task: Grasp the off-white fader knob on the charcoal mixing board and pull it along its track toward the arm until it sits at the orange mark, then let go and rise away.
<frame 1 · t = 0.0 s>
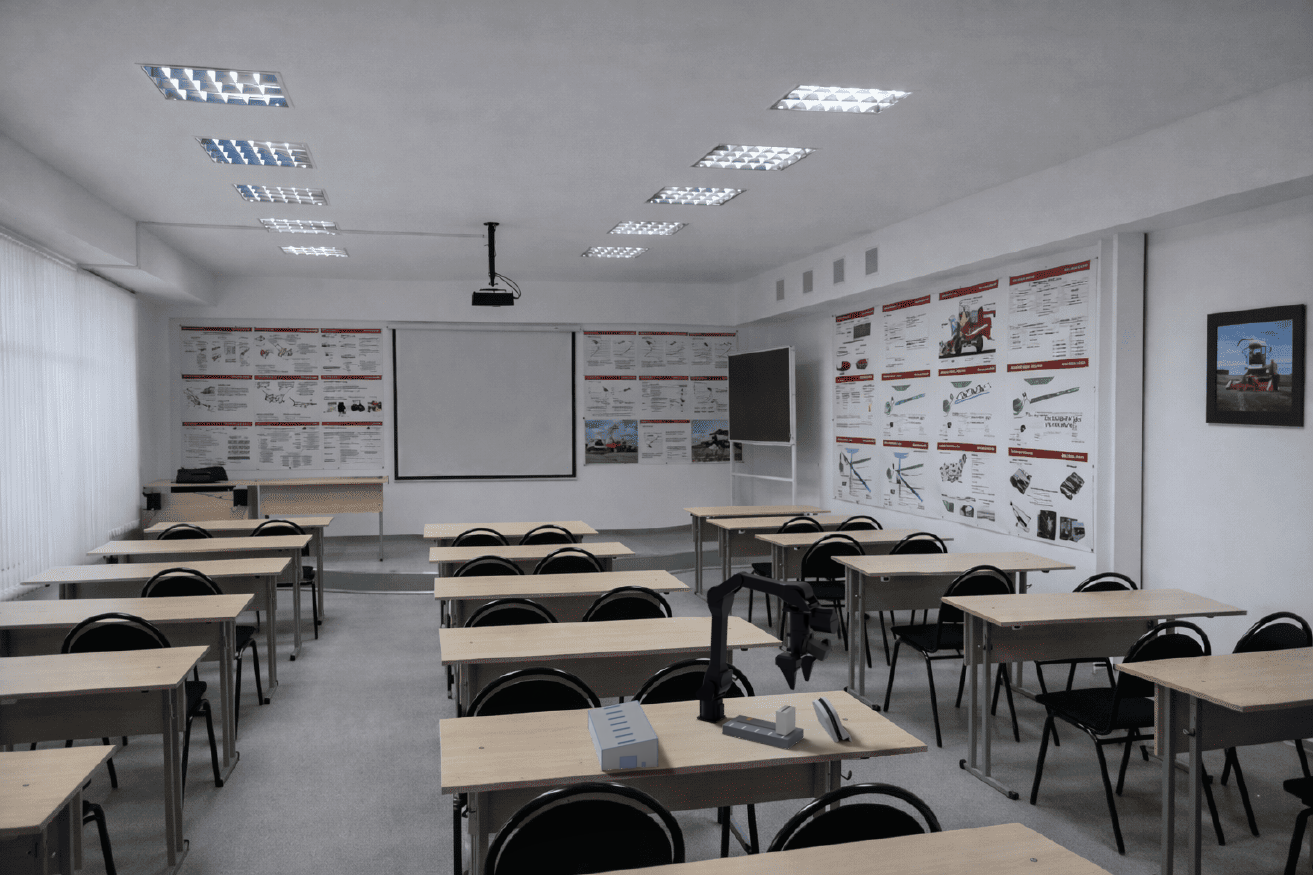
hand: (799, 685, 229), 15 cm above the table, tool pointing down, fingers open, 9 cm apart
fader knob: (785, 719, 227), point 6 cm above the table, slide at 0.0 cm
fader board: (762, 735, 231), on the table
warehouse: (620, 748, 224), on the table
grey curved piece: (830, 732, 235), on the table
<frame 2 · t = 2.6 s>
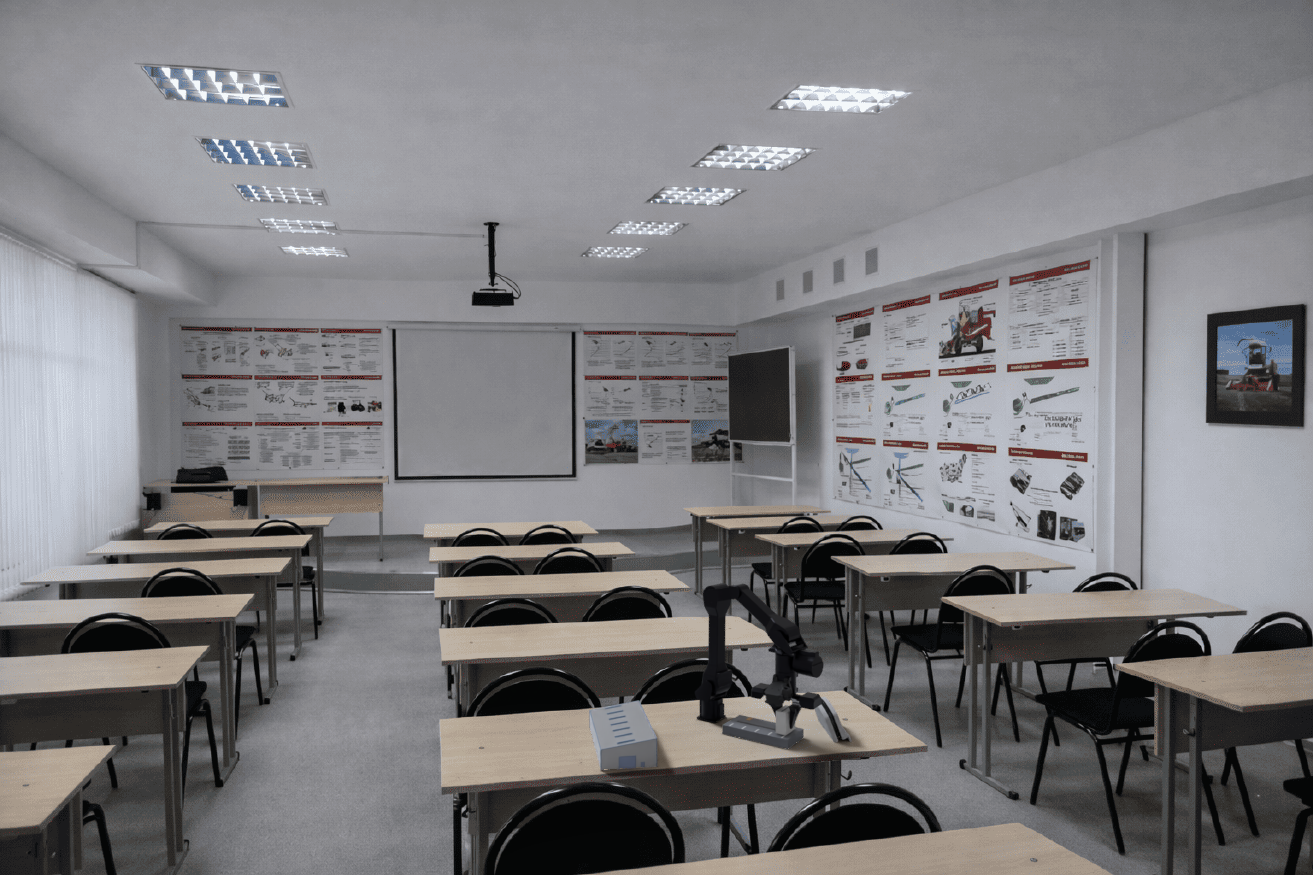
hand: (785, 727, 227), 4 cm above the table, tool pointing down, fingers closed on fader knob, 3 cm apart
fader knob: (785, 719, 227), point 6 cm above the table, slide at 0.0 cm, touching gripper
everything else where it was.
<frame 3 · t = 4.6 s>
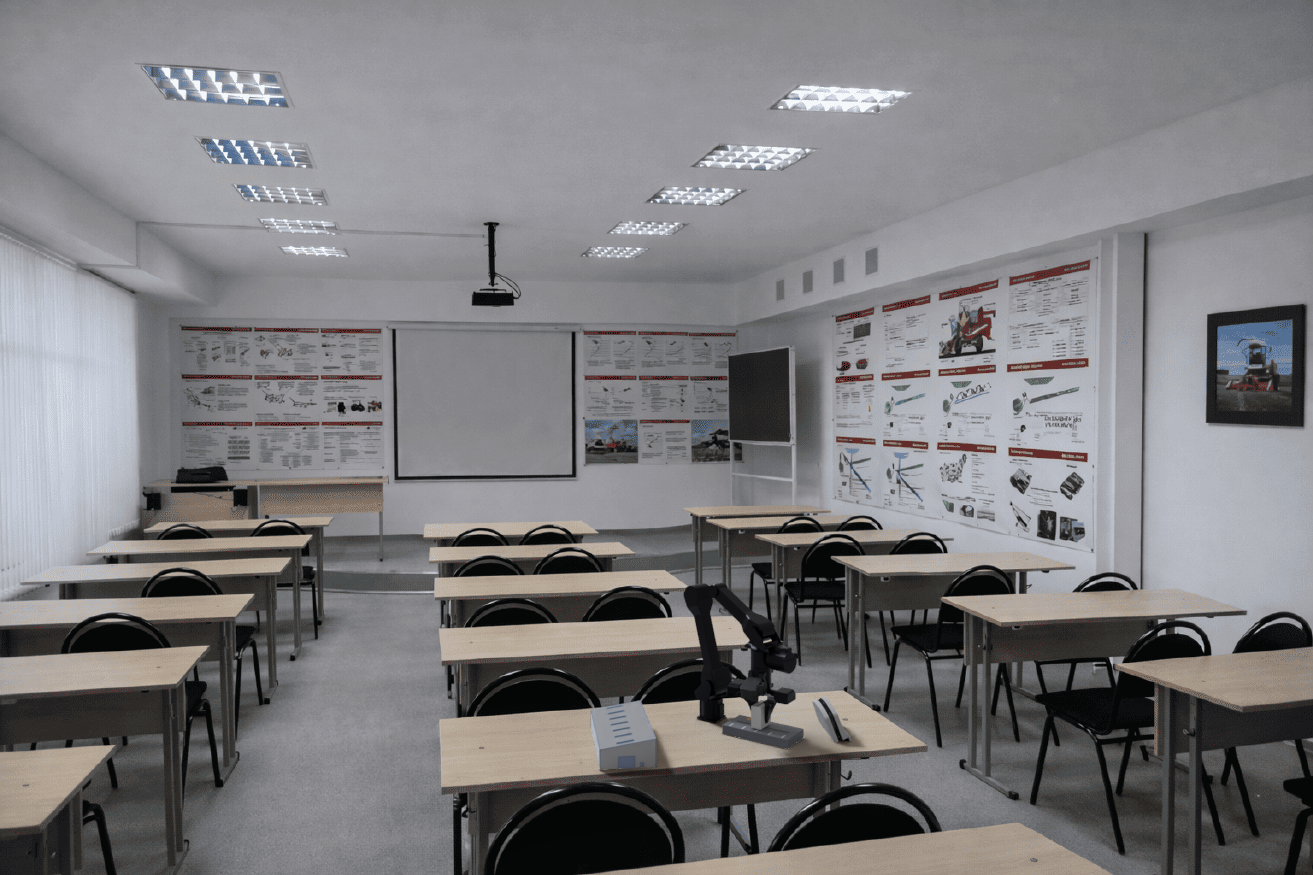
hand: (761, 721, 232), 4 cm above the table, tool pointing down, fingers closed on fader knob, 3 cm apart
fader knob: (761, 714, 232), point 6 cm above the table, slide at 7.5 cm, touching gripper
everything else where it was.
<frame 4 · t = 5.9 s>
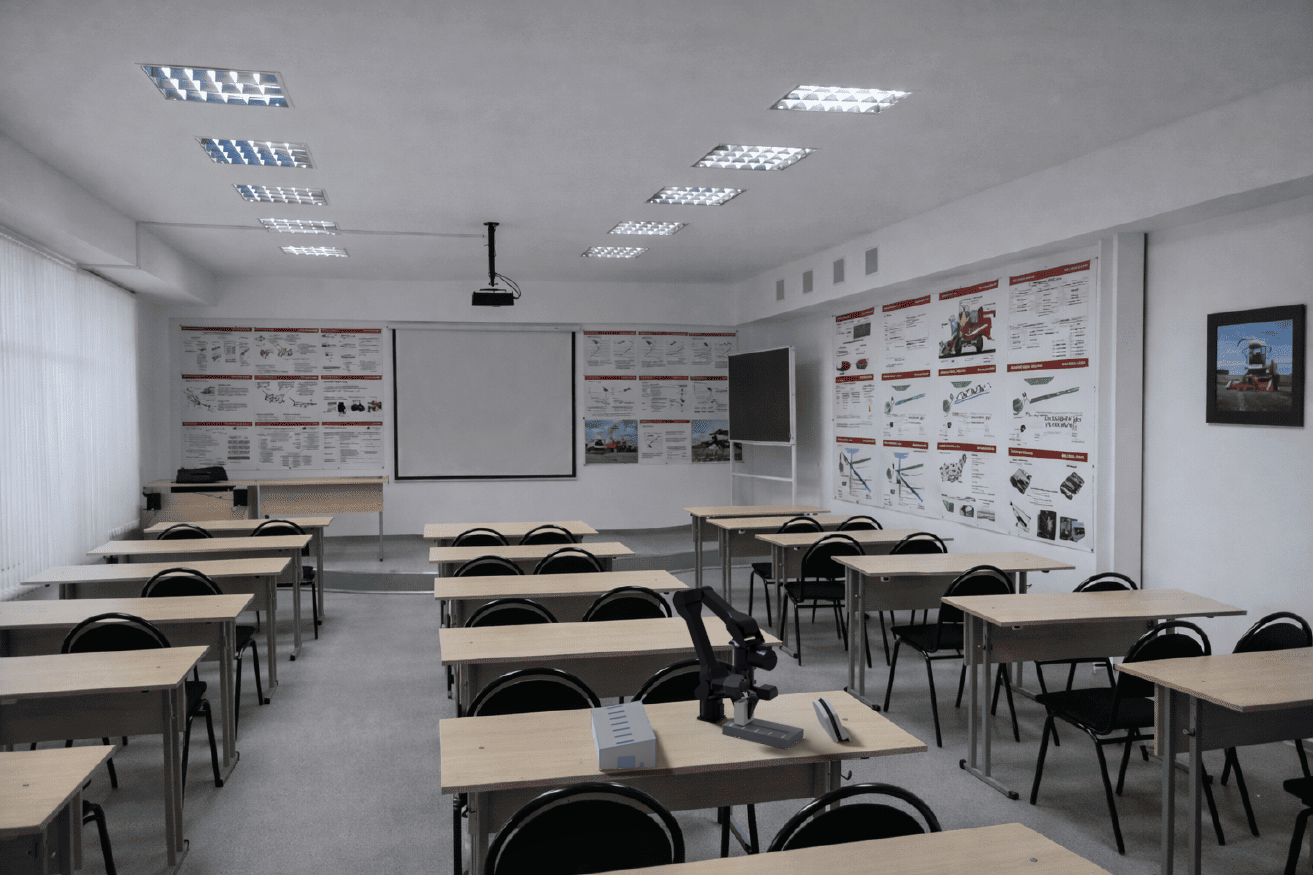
hand: (744, 718, 235), 4 cm above the table, tool pointing down, fingers closed on fader knob, 3 cm apart
fader knob: (744, 710, 235), point 6 cm above the table, slide at 12.9 cm, touching gripper
everything else where it was.
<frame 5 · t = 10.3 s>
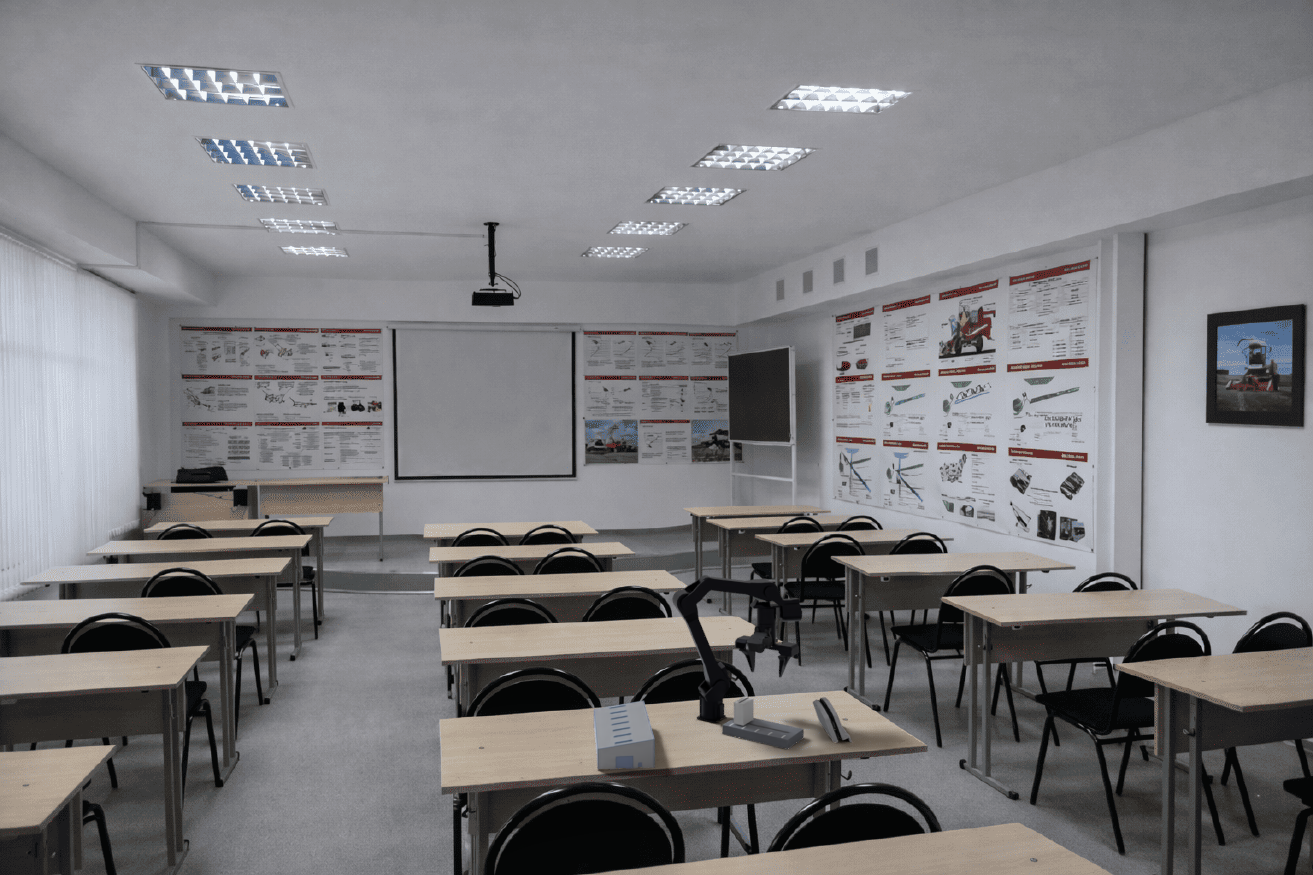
hand: (766, 674, 248), 12 cm above the table, tool pointing down, fingers open, 9 cm apart
fader knob: (743, 710, 235), point 6 cm above the table, slide at 13.0 cm
everything else where it was.
at the end: fader knob slide at 13.0 cm; the gripper is holding nothing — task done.
